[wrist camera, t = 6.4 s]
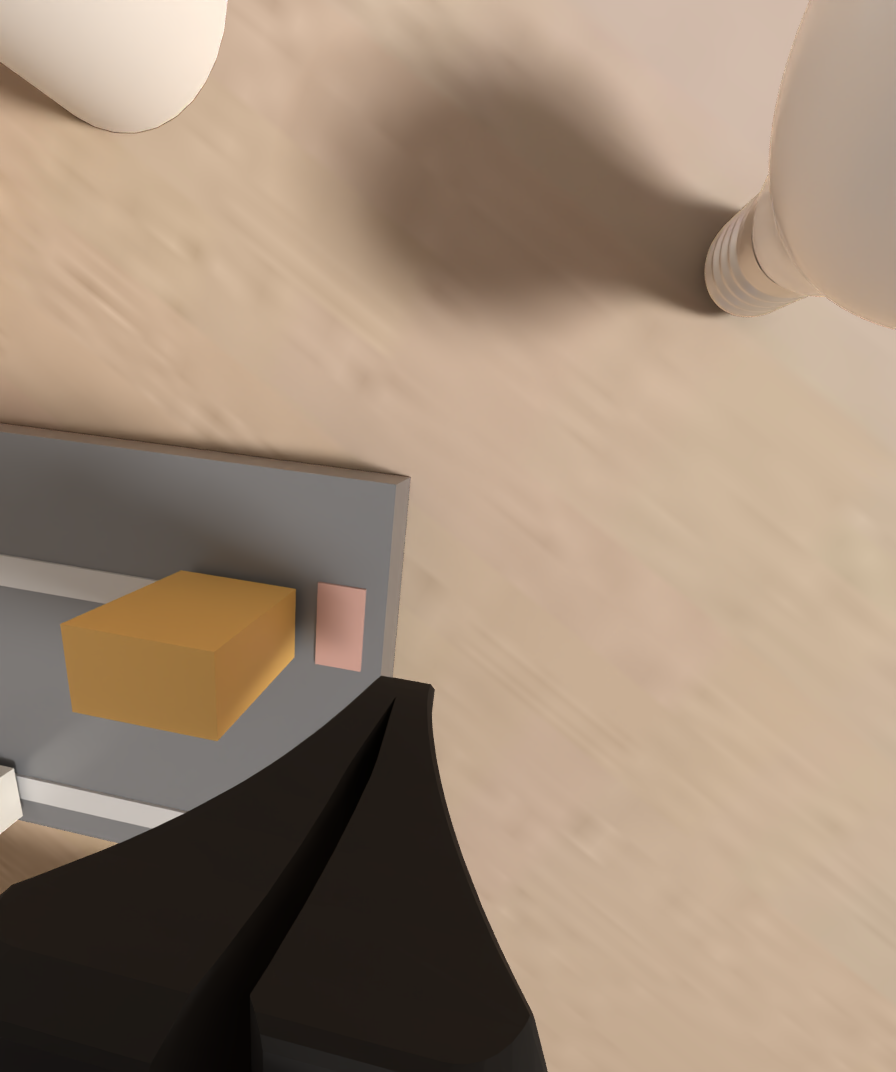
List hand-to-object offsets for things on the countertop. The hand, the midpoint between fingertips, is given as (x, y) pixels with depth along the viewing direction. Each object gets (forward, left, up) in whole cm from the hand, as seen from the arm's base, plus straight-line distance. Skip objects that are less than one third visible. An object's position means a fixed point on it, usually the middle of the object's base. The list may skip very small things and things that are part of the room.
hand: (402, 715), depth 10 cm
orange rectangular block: (0, +7, -3) cm, 7 cm away
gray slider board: (-4, +14, -6) cm, 15 cm away
